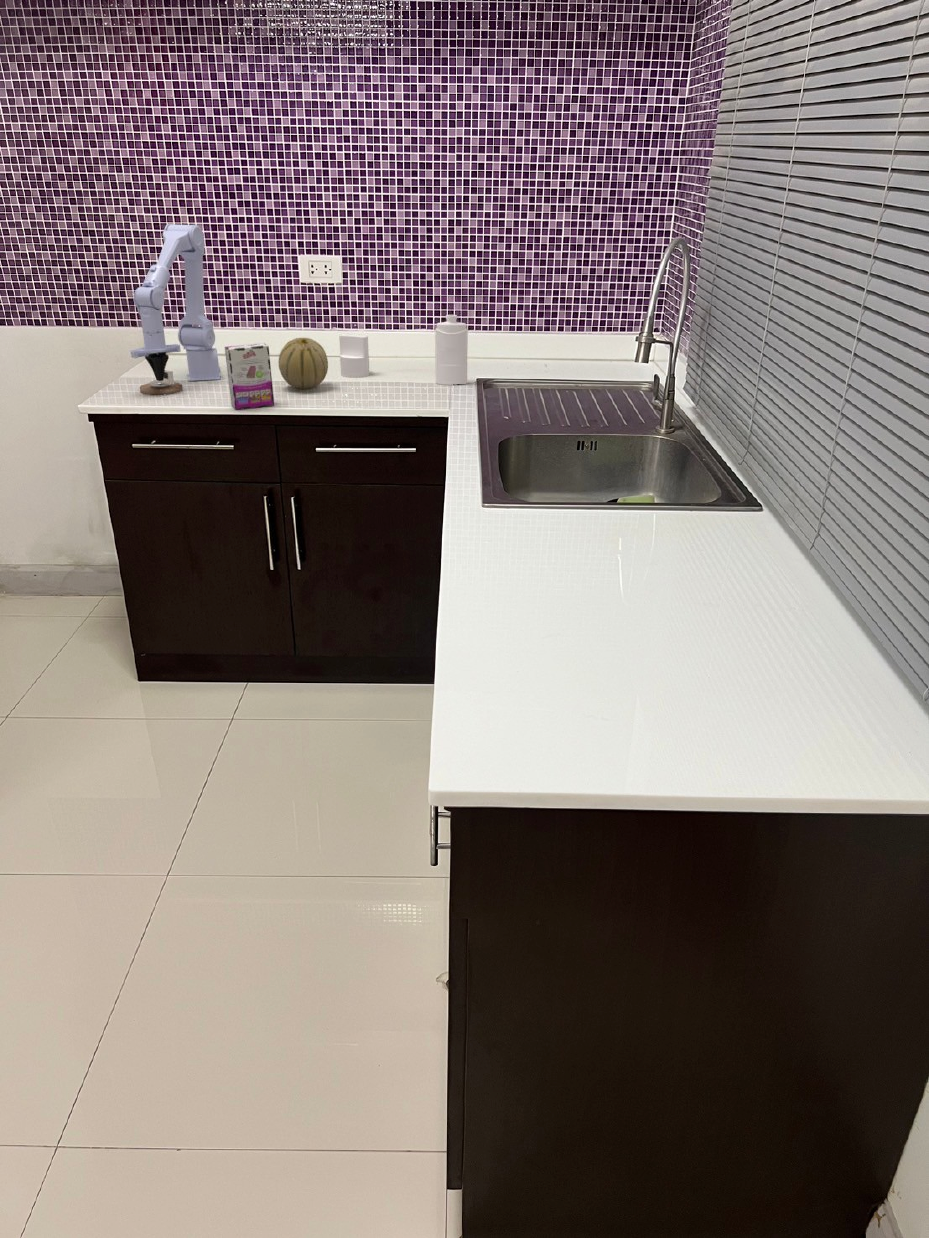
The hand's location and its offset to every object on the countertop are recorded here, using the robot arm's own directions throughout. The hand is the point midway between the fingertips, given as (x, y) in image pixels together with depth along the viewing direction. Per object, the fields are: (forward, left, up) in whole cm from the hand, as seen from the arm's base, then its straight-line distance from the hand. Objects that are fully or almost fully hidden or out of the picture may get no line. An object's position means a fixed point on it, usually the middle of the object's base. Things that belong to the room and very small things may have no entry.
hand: (159, 380), depth 269 cm
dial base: (0, -4, -4) cm, 5 cm away
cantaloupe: (-41, +4, -4) cm, 41 cm away
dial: (-1, -3, -2) cm, 4 cm away
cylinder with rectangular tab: (-59, -11, -4) cm, 60 cm away
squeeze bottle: (-85, +9, -4) cm, 86 cm away
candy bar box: (-24, +22, -4) cm, 33 cm away
